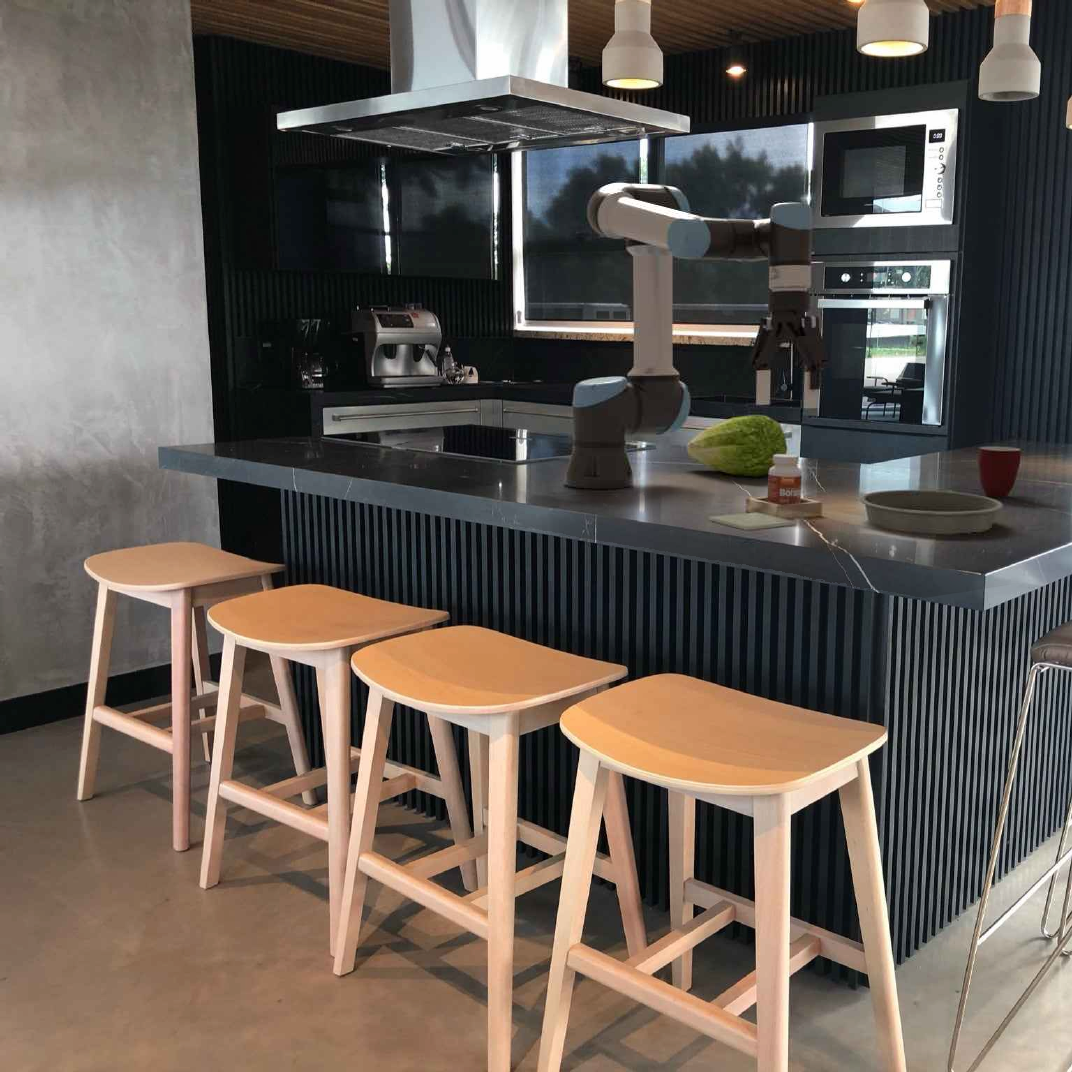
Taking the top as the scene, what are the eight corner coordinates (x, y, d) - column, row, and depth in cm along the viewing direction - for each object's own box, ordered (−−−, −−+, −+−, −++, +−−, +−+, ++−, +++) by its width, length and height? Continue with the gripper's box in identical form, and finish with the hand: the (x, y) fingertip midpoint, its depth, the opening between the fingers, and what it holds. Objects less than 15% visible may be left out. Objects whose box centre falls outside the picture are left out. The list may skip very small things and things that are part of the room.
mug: (989, 491, 246) (992, 444, 245) (1027, 495, 241) (1031, 447, 239) (969, 496, 239) (972, 448, 237) (1008, 500, 233) (1012, 452, 232)
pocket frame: (745, 511, 221) (746, 498, 220) (786, 507, 225) (787, 494, 225) (779, 519, 212) (780, 506, 211) (821, 515, 217) (822, 502, 216)
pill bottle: (779, 517, 215) (781, 458, 212) (760, 512, 220) (762, 454, 218) (806, 514, 217) (809, 456, 215) (787, 509, 223) (789, 452, 220)
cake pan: (834, 515, 218) (835, 491, 217) (950, 510, 224) (951, 487, 223) (903, 540, 195) (905, 513, 194) (1030, 534, 200) (1033, 508, 199)
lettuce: (713, 468, 287) (704, 412, 284) (801, 465, 271) (792, 405, 268) (676, 486, 275) (666, 428, 272) (765, 484, 259) (756, 422, 256)
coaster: (708, 520, 211) (709, 517, 211) (756, 515, 216) (756, 512, 216) (746, 530, 202) (746, 526, 202) (795, 524, 207) (795, 521, 207)
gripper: (731, 292, 221) (729, 403, 224) (820, 287, 199) (816, 410, 202) (762, 293, 224) (759, 402, 228) (852, 287, 202) (848, 408, 206)
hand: (786, 406), depth 215 cm, fingers open, 13 cm apart
